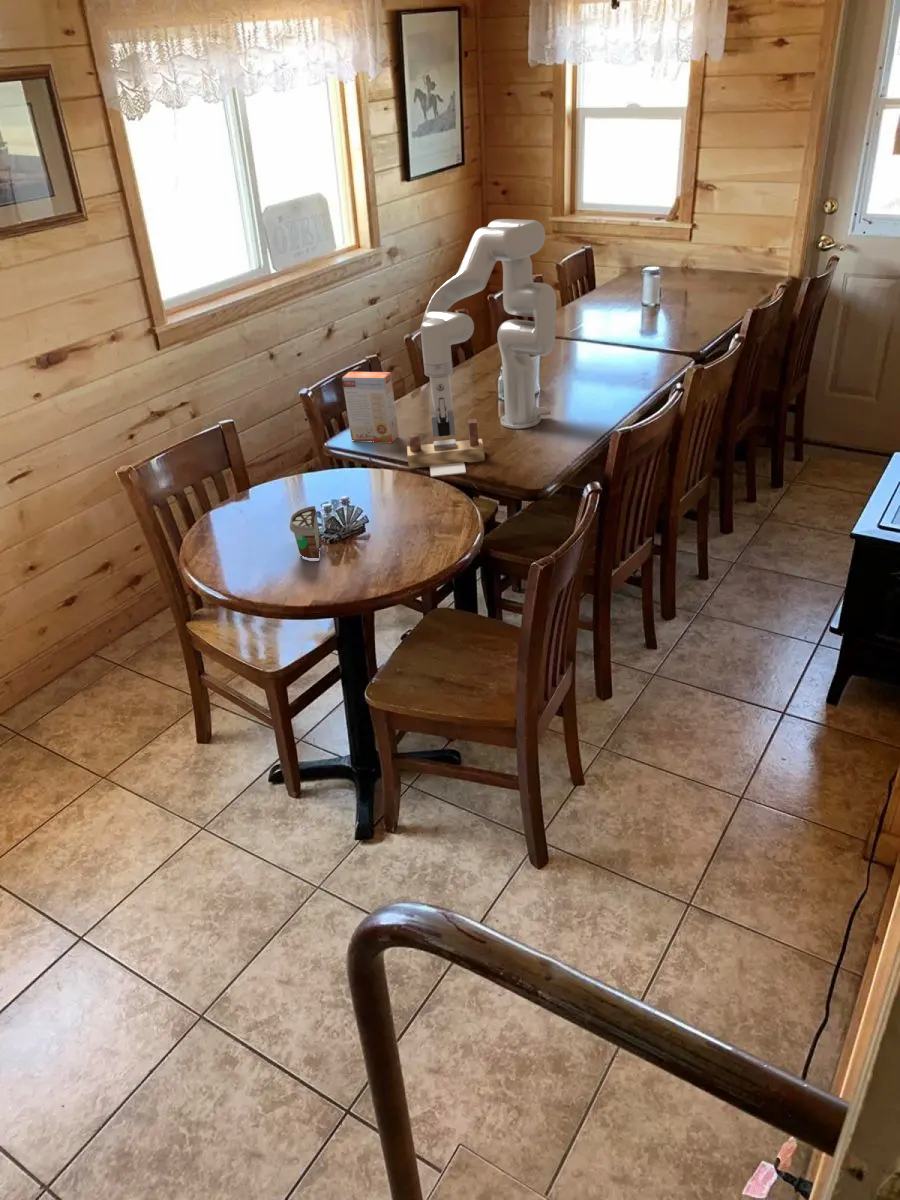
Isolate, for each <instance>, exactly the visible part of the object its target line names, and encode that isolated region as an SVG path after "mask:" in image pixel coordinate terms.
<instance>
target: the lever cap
mask: <svg viewBox="0 0 900 1200" xmlns="http://www.w3.org/2000/svg"><path fill="white" fill-rule="evenodd" d="M453 410H454V409H452V411H451V412H450V411H448V409H447V411H448V412H447V413H448V421H449V427H450V435H449V436H453V435H456V430H455V419H454V418H455V417H454V411H453ZM439 411H440V410H439ZM439 415H441V414H439ZM445 415H446V413H445ZM430 417H431V426H432V434H433V437H440V436H439V435H438V424H437V422H438V414H437V413H436V412H435V411H431V412H430Z"/></svg>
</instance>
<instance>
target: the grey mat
mask: <svg viewBox="0 0 900 1200" xmlns="http://www.w3.org/2000/svg"><path fill="white" fill-rule="evenodd" d="M466 470H467V469H466V465H465V463H464V462H462V463H452V464H443V465H433V466H429V472H430V473H429V474H430V477H431V478H436V477H443V476H444V477H445V476H454V475H464V474H467V471H466Z"/></svg>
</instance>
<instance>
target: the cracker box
mask: <svg viewBox="0 0 900 1200" xmlns="http://www.w3.org/2000/svg"><path fill="white" fill-rule="evenodd" d="M341 379H342V380H341V381H342V385H343V386H342V387H343V393H344V398H345V399H344V400H345V405H346V413H347V419H348V426H349V432H350V439H351V441H352V440H354V441H372V442H371V443H377V442H391V443H390V444H393V443H394V442H393V441H394V440H395V439H396V438H397V437H398V436H399V429H398V428H399V427H398V420H397V419H398V418H397V413H396V412H397V411H396V404H395V398H394V397H395V396H394V395H395V394H394V389H393V388H394V387H393V380H392V372H389V371H387V372H386V371H384V372H383V371H349V372H347V373H346V374H344V375H343V376H342V378H341ZM398 438H399V437H398ZM398 438H397V439H398ZM397 439H396V440H397ZM396 440H395V441H396ZM373 441H374V442H373ZM392 442H393V443H392Z"/></svg>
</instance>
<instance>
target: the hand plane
mask: <svg viewBox="0 0 900 1200" xmlns="http://www.w3.org/2000/svg"><path fill="white" fill-rule="evenodd" d="M467 427H468V438H469V439H467V440H465V439H464V440H457V441H456V438H452V439H443V440H433V443H426V444H422V441H421V435H420V434H419V433H411V434H410V435H408V443H409V446H408V445H407V446H406V452H407V455H406V456H407V462H408V469H417V468H418V469H420V468H428V467H429V468H430V466H433V465H443V464H452V463H462V462H468V463H475V462H476V463H477V462H485V459H486V458H485V448H484V447H485V446H484V443H483V439H482V438H479V431H478V429H479V428H478V420H477V419H476V418H472V419H468V420H467Z"/></svg>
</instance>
